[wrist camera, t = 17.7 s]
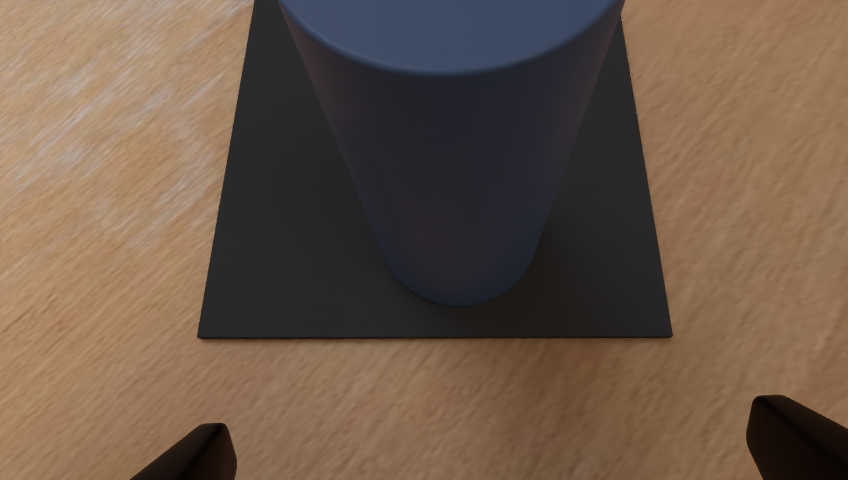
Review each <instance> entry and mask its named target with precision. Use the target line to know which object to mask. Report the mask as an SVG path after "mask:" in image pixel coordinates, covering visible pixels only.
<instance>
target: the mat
mask: <svg viewBox="0 0 848 480" xmlns="http://www.w3.org/2000/svg"><path fill="white" fill-rule="evenodd" d="M672 336H673V334H672V328H671V322H670V316H669V310H668V304H667V298H666V292H665V285H664V279H663V273H662V267H661V261H660V255H659V249H658V242H657V236H656V230H655V224H654V218H653V212H652V206H651V200H650V193H649V187H648V181H647V175H646V169H645V163H644V157H643V151H642V144H641V138H640V132H639V126H638V120H637V114H636V108H635V101H634V95H633V89H632V83H631V77H630V71H629V65H628V59H627V52H626V46H625V40H624V34H623V28H622V22H621V16H620V17H619V19H618V22H617V25H616V28H615V31H614V33H613V36H612V39H611V42H610V45H609V47H608V50H607V53H606V56H605V58H604V61H603V64H602V67H601V70H600V72H599V75H598V78H597V81H596V84H595V86H594V89H593V92H592V95H591V97H590V100H589V103H588V106H587V109H586V111H585V114H584V117H583V120H582V123H581V125H580V128H579V131H578V134H577V136H576V139H575V142H574V145H573V148H572V150H571V153H570V156H569V159H568V162H567V164H566V167H565V170H564V173H563V175H562V178H561V181H560V184H559V187H558V189H557V192H556V195H555V198H554V201H553V203H552V206H551V209H550V212H549V215H548V217H547V220H546V223H545V226H544V228H543V231H542V234H541V237H540V240H539V242H538V245H537V248H536V251H535V254H534V256H533V259H532V261H531V263H530V265H529V267H528V269H527V270H526V272H525V273H524V275H523V276H522V277H521V278H520V279H519V281H518V282H517V283H516V284H514V285H513V286H512V287H511V288H510V289H509V290H507V291H506V292H504V293H503V294H501V295H499V296H497V297H495V298H493V299H491V300H489V301H486V302H483V303H479V304H474V305H467V306H450V305H444V304H438V303H435V302H432V301H429V300H426V299H424V298H422V297H420V296H418V295H417V294H415V293H414V292H412V291H410V290H409V289H408V288H407V287H406V286H404V285H403V284H402V283H401V282H400V281H399V279H398V278H397V277H396V276H395V275H394V273H393V272H392V270H391V269H390V267H389V265H388V263H387V261H386V259H385V256H384V254H383V251H382V249H381V247H380V244H379V242H378V240H377V237H376V235H375V232H374V230H373V228H372V225H371V223H370V220H369V218H368V216H367V213H366V211H365V209H364V206H363V204H362V201H361V199H360V197H359V194H358V192H357V190H356V187H355V185H354V182H353V180H352V178H351V175H350V173H349V170H348V168H347V166H346V163H345V161H344V159H343V156H342V154H341V151H340V149H339V147H338V144H337V142H336V139H335V137H334V135H333V132H332V130H331V128H330V125H329V123H328V120H327V118H326V116H325V113H324V111H323V108H322V106H321V104H320V101H319V99H318V97H317V94H316V92H315V89H314V87H313V85H312V82H311V80H310V77H309V75H308V73H307V70H306V68H305V66H304V63H303V61H302V58H301V56H300V54H299V51H298V49H297V46H296V44H295V42H294V39H293V37H292V35H291V32H290V30H289V27H288V25H287V23H286V20H285V18H284V15H283V13H282V11H281V8H280V6H279V4H278V1H277V0H255V1H254V7H253V13H252V19H251V25H250V30H249V36H248V42H247V48H246V54H245V60H244V65H243V71H242V77H241V83H240V89H239V95H238V100H237V106H236V112H235V118H234V124H233V130H232V135H231V141H230V147H229V153H228V159H227V165H226V170H225V176H224V182H223V188H222V194H221V200H220V205H219V211H218V217H217V223H216V229H215V235H214V240H213V246H212V252H211V258H210V264H209V270H208V275H207V281H206V287H205V293H204V299H203V305H202V310H201V316H200V322H199V328H198V334H197V337H198V338H200V339H402V338H670V337H672Z"/></svg>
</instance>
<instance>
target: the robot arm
mask: <svg viewBox="0 0 848 480" xmlns="http://www.w3.org/2000/svg"><path fill="white" fill-rule="evenodd" d="M746 440H747V445H748V448H749V450H750V453H751V455H752V457H753V459H754V461H755V463H756V465H757V467H758V469H759V472H760V474H761V476H762V478H763V480H848V429H847V428H845V427H843V426H842V425H840V424H838V423H836V422H834V421H832V420H830V419H828V418H826V417H824V416H822V415H821V414H819V413H817V412H815V411H813V410H811V409H809V408H807V407H805V406H803V405H801V404H800V403H798V402H796V401H794V400H792V399H790V398H788V397H786V396H783V395H762V396H758V397H756V398H755V399H754V400H753V403H752V407H751V412H750V416H749V421H748V426H747V431H746ZM236 470H237V458H236V454H235V451H234V447H233V444H232V440H231V437H230V434H229V430H228V428H227V426H226V425H225V424H223V423H208V424H201V425H199V426H198V427H196V428H195V429H194V430H193V431H191V432H190V433H189V434H187V435H186V436H185V437H184V438H182V439H181V440H180V441H178V442H177V443H176V444H175V445H173V446H172V447H171V448H170V449H168V450H167V451H166V452H164V453H163V454H162V455H161V456H159V457H158V458H157V459H155V460H154V461H153V462H152V463H150V464H149V465H148V466H146V467H145V468H144V469H143V470H141V471H140V472H139V473H137V474H136V475H135V476H134V477H132V478H131V479H130V480H234V479H235V475H236Z"/></svg>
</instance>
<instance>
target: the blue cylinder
mask: <svg viewBox="0 0 848 480" xmlns="http://www.w3.org/2000/svg"><path fill="white" fill-rule="evenodd" d="M277 1H278V4H279V6H280V8H281V11H282V13H283V15H284V18H285V20H286V23H287V25H288V27H289V30H290V32H291V35H292V37H293V39H294V42H295V44H296V46H297V49H298V51H299V54H300V56H301V58H302V61H303V63H304V66H305V68H306V70H307V73H308V75H309V77H310V80H311V82H312V85H313V87H314V89H315V92H316V94H317V97H318V99H319V101H320V104H321V106H322V108H323V111H324V113H325V116H326V118H327V120H328V123H329V125H330V128H331V130H332V132H333V135H334V137H335V139H336V142H337V144H338V147H339V149H340V151H341V154H342V156H343V159H344V161H345V163H346V166H347V168H348V170H349V173H350V175H351V178H352V180H353V182H354V185H355V187H356V190H357V192H358V194H359V197H360V199H361V201H362V204H363V206H364V209H365V211H366V213H367V216H368V218H369V220H370V223H371V225H372V228H373V230H374V232H375V235H376V237H377V240H378V242H379V244H380V247H381V249H382V251H383V254H384V256H385V259H386V261H387V263H388V265H389V267H390V269H391V270H392V272H393V273H394V275H395V276H396V277H397V278H398V279H399V281H400V282H401V283H402V284H403V285H404V286H406V287H407V288H408V289H409V290H410V291H412V292H414V293H415V294H417V295H418V296H420V297H422V298H424V299H426V300H429V301H432V302H435V303H438V304H444V305H450V306H467V305H474V304H479V303H483V302H486V301H489V300H491V299H493V298H495V297H497V296H499V295H501V294H503V293H504V292H506V291H507V290H509V289H510V288H511V287H512V286H513V285H514V284H516V283H517V282H518V281H519V279H520V278H521V277H522V276H523V275H524V273H525V272H526V270H527V269H528V267H529V265H530V263H531V261H532V259H533V256H534V254H535V251H536V248H537V245H538V242H539V240H540V237H541V234H542V231H543V228H544V226H545V223H546V220H547V217H548V215H549V212H550V209H551V206H552V203H553V201H554V198H555V195H556V192H557V189H558V187H559V184H560V181H561V178H562V175H563V173H564V170H565V167H566V164H567V162H568V159H569V156H570V153H571V150H572V148H573V145H574V142H575V139H576V136H577V134H578V131H579V128H580V125H581V123H582V120H583V117H584V114H585V111H586V109H587V106H588V103H589V100H590V97H591V95H592V92H593V89H594V86H595V84H596V81H597V78H598V75H599V72H600V70H601V67H602V64H603V61H604V58H605V56H606V53H607V50H608V47H609V45H610V42H611V39H612V36H613V33H614V31H615V28H616V25H617V22H618V19H619V17H620V14H621V11H622V8H623V5H624V3H625V0H277Z"/></svg>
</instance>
